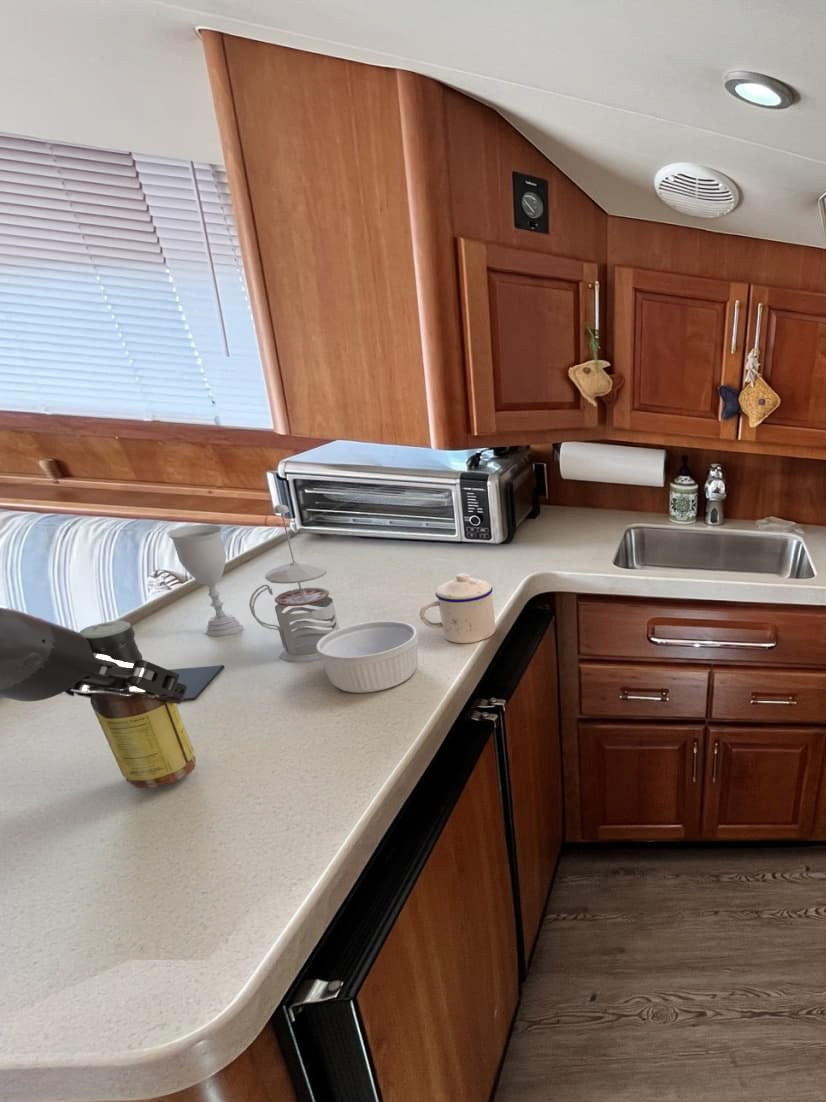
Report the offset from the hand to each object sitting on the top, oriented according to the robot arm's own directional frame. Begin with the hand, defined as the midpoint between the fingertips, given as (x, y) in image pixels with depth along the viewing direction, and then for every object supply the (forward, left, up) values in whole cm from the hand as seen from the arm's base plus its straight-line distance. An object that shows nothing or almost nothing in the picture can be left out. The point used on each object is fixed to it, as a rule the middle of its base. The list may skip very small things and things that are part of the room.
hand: (147, 694), depth 73 cm
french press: (+5, +32, -11) cm, 34 cm away
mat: (-10, +23, -11) cm, 27 cm away
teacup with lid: (+28, +33, -11) cm, 45 cm away
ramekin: (+17, +20, -11) cm, 29 cm away
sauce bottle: (-1, -2, -11) cm, 11 cm away
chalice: (-10, +43, -11) cm, 46 cm away
